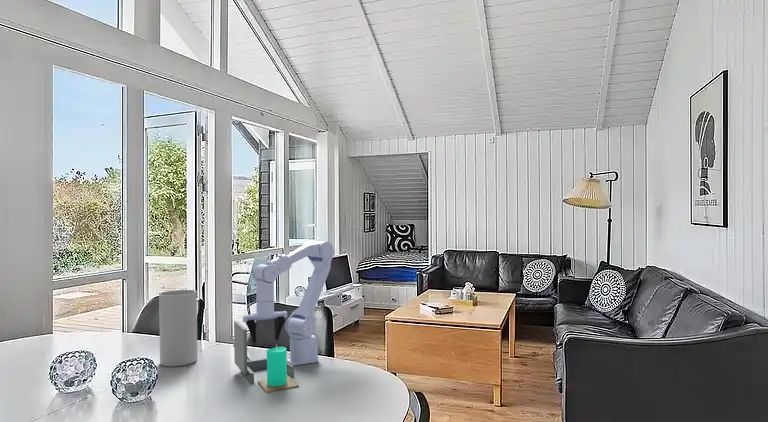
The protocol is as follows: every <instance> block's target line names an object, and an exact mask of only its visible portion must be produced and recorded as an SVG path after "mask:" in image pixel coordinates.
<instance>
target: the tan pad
mask: <svg viewBox="0 0 768 422" xmlns="http://www.w3.org/2000/svg"><path fill="white" fill-rule="evenodd" d="M257 383H258V385H259V386H261V387H260V388H262V389H263V390H264V392H266V393H267V394H268V393H272V392H278V391H279V392H280V391H283V390H288V389H289V390H290V389H294V388H300V385H299V384H298V383H297V382H296V381H295V380H294V379H293V378H291V376H290V375H289V376H288V375H287V383H286V384H285V385H282V386H269V385H268V384H267V379H265V380H264V379H263V380H259V381H257Z"/></svg>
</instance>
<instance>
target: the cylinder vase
mask: <svg viewBox="0 0 768 422" xmlns="http://www.w3.org/2000/svg"><path fill="white" fill-rule="evenodd" d="M197 293H198V292H197V290H194V289H177V290H175V289H174V290H168V291H167V290H166V291H162V292H159V294H158V310H159V311H158V312H159V315H158V319H159V321H158V322H159V325H158V326H159V363H160V365H162V366H163V367H169V368H171V367H175V368H176V367H184V366H188V365H191V364H194V363H195V362H196V361H197V360H198V311H197V310H198V308H197V307H198V305H197V304H198V303H197V298H198V296H197V295H198V294H197Z"/></svg>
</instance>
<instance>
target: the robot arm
mask: <svg viewBox="0 0 768 422" xmlns="http://www.w3.org/2000/svg"><path fill="white" fill-rule="evenodd" d="M334 254H335V249H334V246H333V244H332V242H330V241H326V240H325V241H323V240H322V241H320V240H309V241H307V242H304V243H303V244H302V245H301V246H299V247H298V248H296V249H295V250H292V251H291V252H289V254H282V253H279V254H277V255H276V257H275V258H273V259H270V260H266V263H263V264H262V263H261V264H258V265H257V266H255V268H254V270H253V272H252V277H253V279H254V281H255V285H256V287H255V289H256V293H255V295H256V296H255V297H256V313H250V314H245V315H244V314H243V315H242V322H243V323H245V324H246V326H247V328H248V329H247V330H248V331H249V334H250V339H251V342H252V343H253V344H256V343H257V323H256V321H264V320H265V321H266V320H273V323H274V340H276V341H279V340H280V334H281V331H282V329H283V326H285V327H284V329H285V331H286V332H287V333H288V337H289V358H287V361H288V362H289V363H290V364H291V365H293V366H294V367H295V366H300V365H305V364H313V363H318V362H320V361H319V353H318V352H319V346H318V345H319V344H318V343H319V342H318V339H317V336H316V335H315V334H314V332H315V329H316V328H315V327H316V321H317V317H316V316H315V314H314V312H315V310H316V307H317V303H318V302H319V298H320V296H321V294H322V291H323V288H324V286H325V283H326V281H327V279H328V275H329V274H330V273H329V272H330V270H331V267H332V266H331V265H332V260H333V257H334ZM305 258H307V259H308V260H309V261H310V263H311V264H312V265H313V268H314V269H313V272H312V274H311V275H310V276H311V277H310V279H309V281H308V284H307V287H306V289H305V291H304V294H303V297H302V299H301V301H300V303H299V307H297V308H296V309H295V310H293V311H292V312H291V314H290V316H289V317H288V311H286V310H282V311H281V310H280V311H275V281H276V280H277V279H278V276H280V275H282V274H283V273H285V272H287V271H289V270H290V269H291V268H292V264H294V263H296V262H299V261H300V260H303V259H305ZM286 319H287V320H286ZM284 324H285V325H284Z"/></svg>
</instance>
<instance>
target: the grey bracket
mask: <svg viewBox="0 0 768 422" xmlns="http://www.w3.org/2000/svg"><path fill="white" fill-rule="evenodd" d="M233 331H234V332H233V335H234V337H233V342H232V343H233V345H232V346H233V349H234V364H235V365H236V367H237V368H238V370H240V372H241V373H242V374H243V376H244V377H245V378H246V379H247V380H248V381H249V383H251V384H253V383H255V373H254V371H256V370H263V369H267V357H266V358H261V359H255V360H254V359H251V358H250V357H249V356H248V329H247V328H246V327H245V326H244V325H243V324H241V323H240V322H239V321H238V320H234V321H233ZM287 375H289V377H294V376H295V366H293V365H292V364H291V363H289V362H288V361H287Z"/></svg>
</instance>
